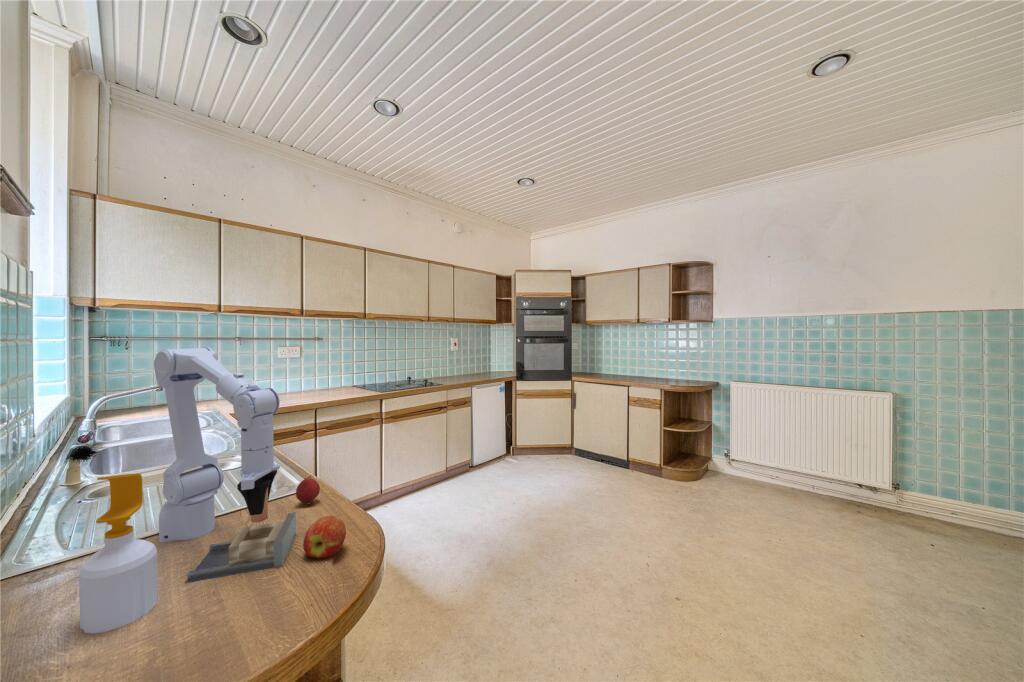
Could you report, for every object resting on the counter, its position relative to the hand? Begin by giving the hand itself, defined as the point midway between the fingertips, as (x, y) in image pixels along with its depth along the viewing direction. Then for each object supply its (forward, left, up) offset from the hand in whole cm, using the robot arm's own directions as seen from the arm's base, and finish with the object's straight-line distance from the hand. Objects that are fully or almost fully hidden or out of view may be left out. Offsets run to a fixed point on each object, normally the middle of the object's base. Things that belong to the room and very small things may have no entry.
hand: (258, 510), depth 81 cm
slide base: (-2, -1, -10) cm, 10 cm away
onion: (+5, +24, -10) cm, 27 cm away
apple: (+13, -4, -10) cm, 17 cm away
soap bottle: (-17, -13, -10) cm, 23 cm away
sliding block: (0, -1, -9) cm, 9 cm away
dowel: (0, 0, -2) cm, 2 cm away
